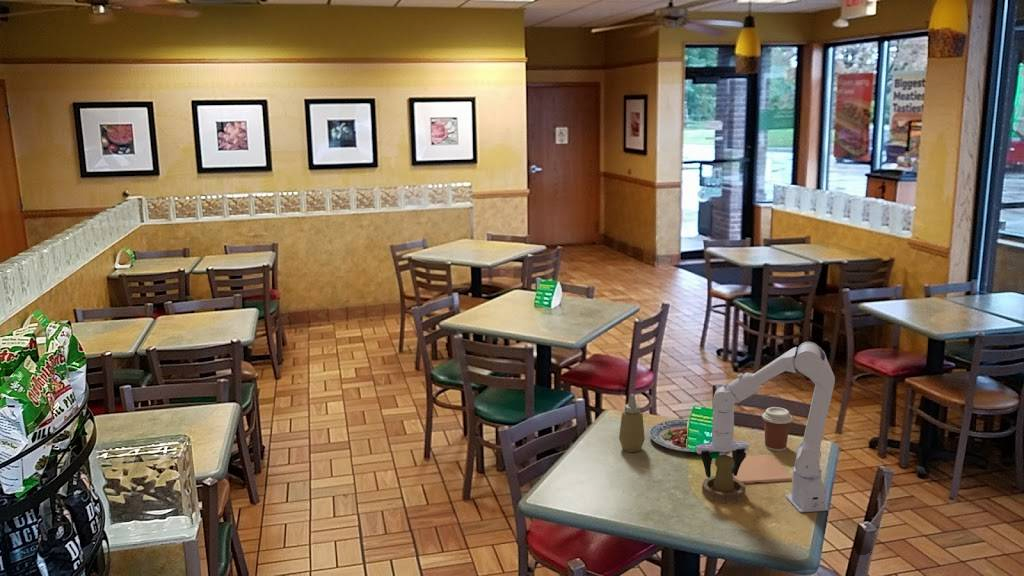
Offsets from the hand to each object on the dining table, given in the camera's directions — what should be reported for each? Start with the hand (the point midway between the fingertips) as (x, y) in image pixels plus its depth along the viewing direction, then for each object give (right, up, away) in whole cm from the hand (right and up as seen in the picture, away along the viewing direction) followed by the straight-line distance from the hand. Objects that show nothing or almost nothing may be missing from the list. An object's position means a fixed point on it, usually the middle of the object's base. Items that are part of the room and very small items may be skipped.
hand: (721, 475), depth 230 cm
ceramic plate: (-1, +3, +35) cm, 35 cm away
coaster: (+13, -1, +13) cm, 18 cm away
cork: (0, -5, -1) cm, 5 cm away
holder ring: (0, -5, -1) cm, 5 cm away
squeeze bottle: (-21, +2, +29) cm, 36 cm away
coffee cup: (+24, +2, +28) cm, 37 cm away
